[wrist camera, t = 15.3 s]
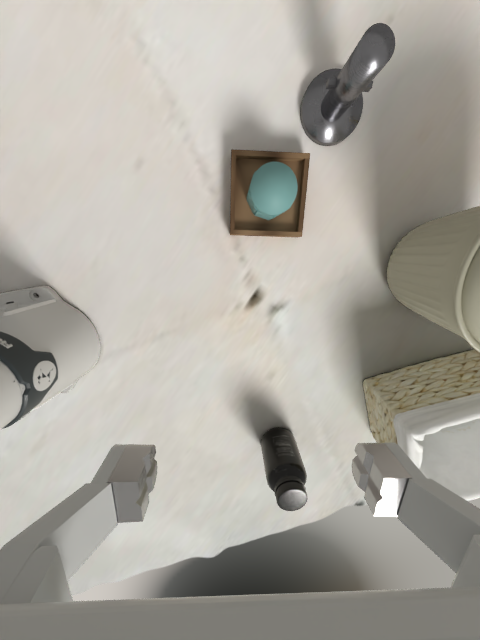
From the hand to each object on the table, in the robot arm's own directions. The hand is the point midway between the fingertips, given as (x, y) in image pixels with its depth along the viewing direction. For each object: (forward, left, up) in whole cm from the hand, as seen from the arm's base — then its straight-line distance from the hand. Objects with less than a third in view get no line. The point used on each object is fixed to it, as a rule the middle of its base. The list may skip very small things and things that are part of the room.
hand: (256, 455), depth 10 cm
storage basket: (+36, -18, -32) cm, 51 cm away
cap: (+4, +15, -30) cm, 34 cm away
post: (+12, +26, -31) cm, 42 cm away
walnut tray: (+4, +15, -31) cm, 35 cm away
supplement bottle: (+9, -29, -31) cm, 44 cm away
